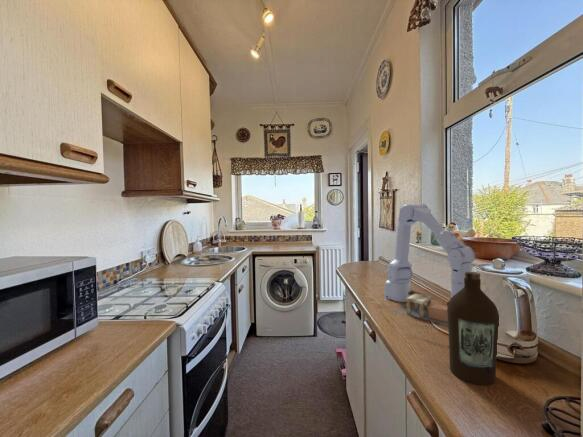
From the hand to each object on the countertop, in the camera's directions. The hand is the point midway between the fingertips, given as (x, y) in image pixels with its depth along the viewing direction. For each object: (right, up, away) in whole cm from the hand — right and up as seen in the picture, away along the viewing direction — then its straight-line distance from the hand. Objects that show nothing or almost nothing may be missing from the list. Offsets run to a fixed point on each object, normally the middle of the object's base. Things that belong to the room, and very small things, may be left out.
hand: (460, 321), depth 95 cm
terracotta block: (-3, -1, +3) cm, 4 cm away
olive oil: (-14, -3, -27) cm, 31 cm away
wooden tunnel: (-10, -1, +10) cm, 14 cm away
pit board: (-8, -2, +8) cm, 12 cm away
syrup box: (-2, -1, +44) cm, 44 cm away
